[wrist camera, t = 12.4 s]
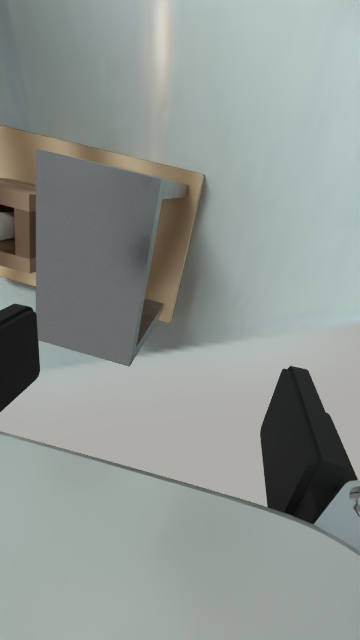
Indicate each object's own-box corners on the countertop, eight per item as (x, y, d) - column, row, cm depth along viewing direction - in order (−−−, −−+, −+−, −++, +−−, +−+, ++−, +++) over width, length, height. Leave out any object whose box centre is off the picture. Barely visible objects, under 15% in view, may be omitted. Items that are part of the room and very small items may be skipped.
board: (0, 270, 32) (-73, 294, 24) (-8, 124, 26) (-108, 95, 18) (172, 317, 31) (152, 358, 23) (205, 175, 25) (192, 167, 17)
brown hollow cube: (12, 243, 29) (-39, 255, 23) (10, 178, 26) (-48, 174, 21) (68, 258, 29) (29, 273, 23) (71, 194, 26) (29, 194, 21)
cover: (96, 294, 30) (36, 339, 20) (109, 165, 24) (35, 148, 15) (161, 312, 29) (129, 366, 20) (188, 184, 24) (161, 179, 15)
